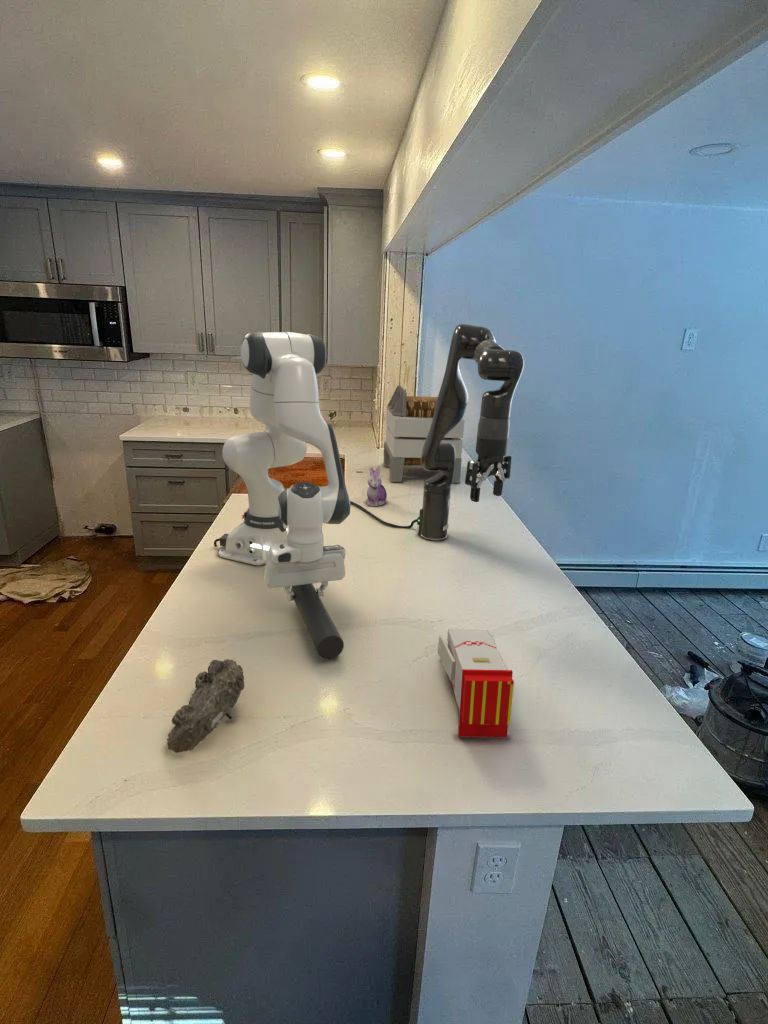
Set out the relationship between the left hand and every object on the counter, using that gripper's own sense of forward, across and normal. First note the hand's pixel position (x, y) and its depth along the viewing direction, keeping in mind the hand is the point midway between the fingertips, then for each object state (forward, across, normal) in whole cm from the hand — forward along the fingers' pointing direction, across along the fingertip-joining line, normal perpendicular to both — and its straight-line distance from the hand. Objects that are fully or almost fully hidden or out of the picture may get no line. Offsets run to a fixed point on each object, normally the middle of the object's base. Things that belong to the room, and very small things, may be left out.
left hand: (305, 597), depth 145 cm
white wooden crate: (+5, -83, -114) cm, 141 cm away
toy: (+4, -25, +42) cm, 49 cm away
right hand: (-27, -44, +9) cm, 52 cm away
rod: (+3, 0, +10) cm, 10 cm away
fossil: (+4, +26, +34) cm, 43 cm away
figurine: (+5, -47, -77) cm, 90 cm away
